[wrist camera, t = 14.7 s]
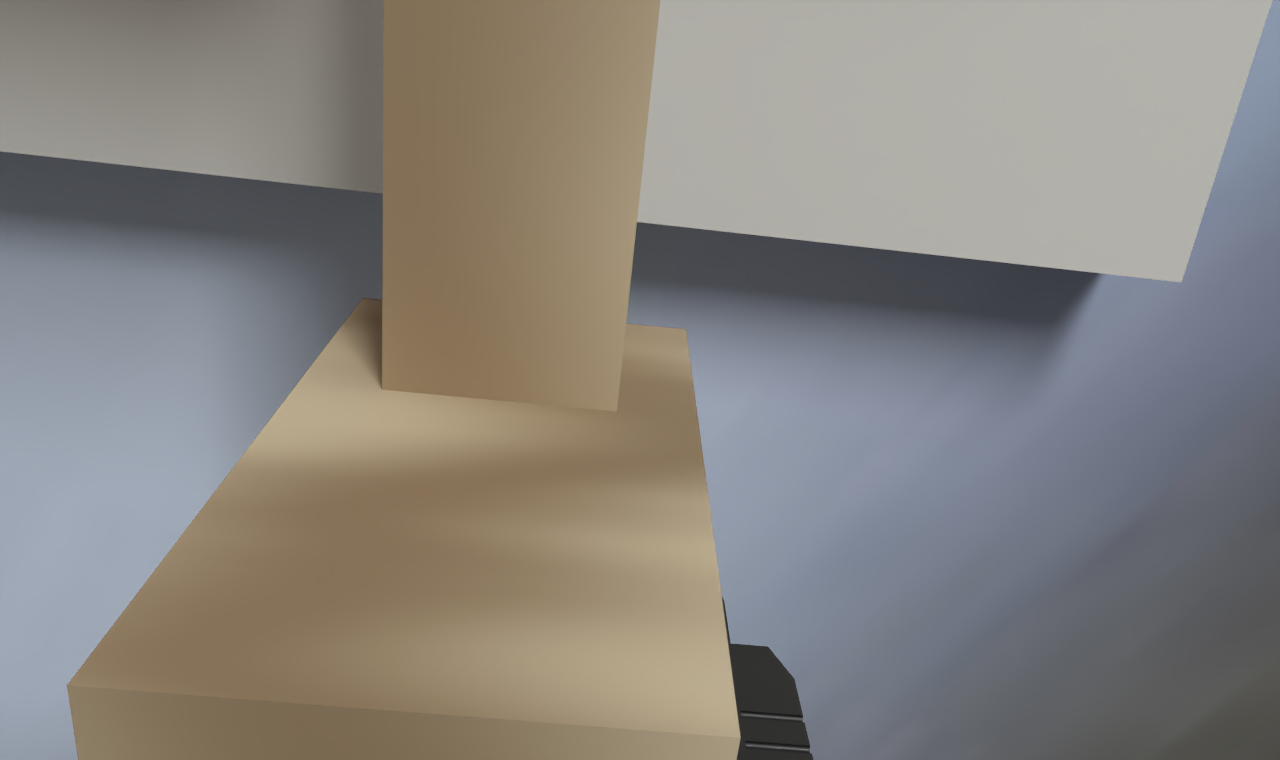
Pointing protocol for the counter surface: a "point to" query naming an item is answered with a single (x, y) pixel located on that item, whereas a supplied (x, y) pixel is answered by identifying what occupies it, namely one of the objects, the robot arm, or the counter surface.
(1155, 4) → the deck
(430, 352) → the crook
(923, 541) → the counter surface
